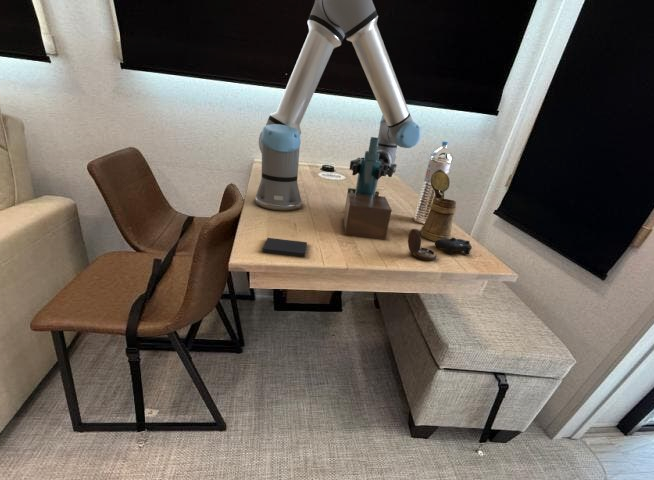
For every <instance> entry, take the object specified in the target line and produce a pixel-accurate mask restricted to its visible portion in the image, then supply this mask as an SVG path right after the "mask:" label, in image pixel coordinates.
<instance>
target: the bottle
mask: <svg viewBox="0 0 654 480" xmlns="http://www.w3.org/2000/svg"><path fill="white" fill-rule="evenodd" d="M378 144H379V138H378V137H374V136H371V137H370V139H369V145H368V150H366V151H364V155H363V157H360V158H361V159H360V166H359V172H358V174H357V178H356V185H355V189H356V190H355V193H357V194H365V195H373V196H375V193H376V191H377V187H378V182H379V179H378V180H376V174H377V170H378V169H379V168H380V167H381V162H382V161H381V160H379V155H380V153H377V149H378Z"/></svg>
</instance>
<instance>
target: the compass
mask: <svg viewBox="0 0 654 480" xmlns="http://www.w3.org/2000/svg"><path fill="white" fill-rule="evenodd" d="M421 245H422V236H421V234H420V228H412V229H410V231H409V233H408V236H407V246H408V249H409V252H410V253H412V256H414V257H415V258H417V259H419V260H423V261H430V262H431V261H434V260H436V259H437V254H436V252H435V251H434V250H433V249H431V248H427V247H422V246H421Z"/></svg>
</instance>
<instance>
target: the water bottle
mask: <svg viewBox="0 0 654 480" xmlns="http://www.w3.org/2000/svg"><path fill="white" fill-rule="evenodd" d="M449 143H450V142H449V141H445V140H444V141H443V140H442V142H441V146H440V147H438V148H436V149H435V150H434V151H432V152H431V154H430V155H429V161H428V164H427V167H426V171H425V175H424V179H423V181H422V185H421V189H420V193H419V197H418V201H417V203H416V208H415V211H414V215H413V220H414V221H415V222H416V223H418V224H422V225H424V224H425V221H426V219H427V217H428V214H429V212H430V209H431V208H430V206H431V205H432V202H433V199H434V196H435V191H434V189H433V188H432V186H431V178H432V175H433V174H434V173H435V172H436V171H438V170H440V169H441V170H442V171H444V172H445V173H446V174H447V175H448V176H449V171H450V168H451V166H452V165H451V164H453V163H452V162H453V155H452V152H451V150H450V149H449V148H448V146H449V145H450V144H449Z"/></svg>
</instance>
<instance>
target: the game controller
mask: <svg viewBox="0 0 654 480" xmlns="http://www.w3.org/2000/svg"><path fill="white" fill-rule="evenodd" d="M434 246H435V247H436V248H437V249H442V250H445V251H446V253H447V254H449V255H453V253H454V252H463V253H464V255H469V254H470V252H471V250H472V245H471V244H470V241H469V240H465V239H462V238H456V237H451V238H450V239H440V240H437V241H434Z"/></svg>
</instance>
